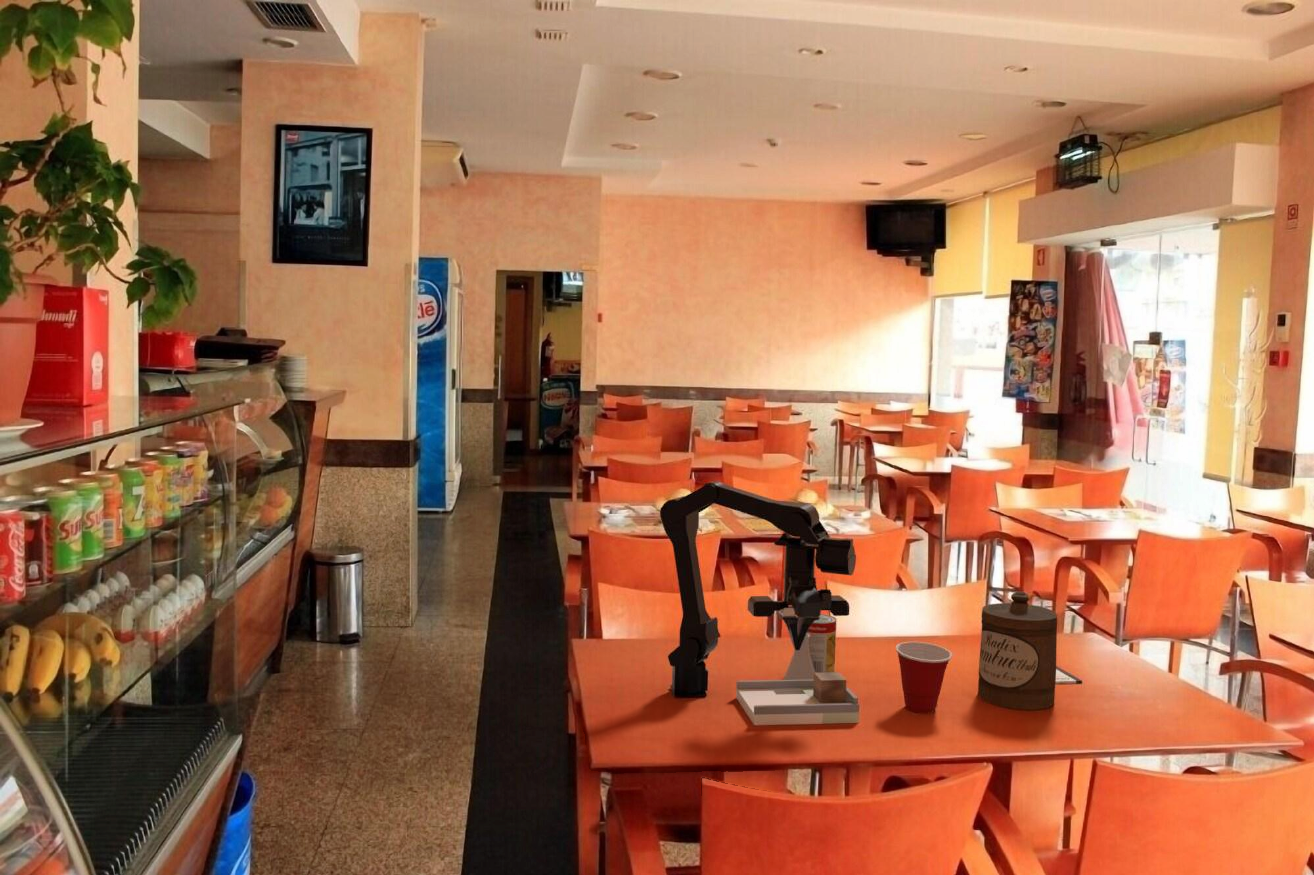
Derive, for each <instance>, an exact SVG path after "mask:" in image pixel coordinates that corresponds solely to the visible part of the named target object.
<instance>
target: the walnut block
mask: <svg viewBox="0 0 1314 875" xmlns="http://www.w3.org/2000/svg"><path fill="white" fill-rule="evenodd" d="M846 686H847V679H846V678H845V676H843V675H842V674H841V673H840V672H838V671H837V672H836V671H835V672H827V673H814V687H813V696H814V697H815V698H816V699H817V700H818V701H819V702H820V703H846Z"/></svg>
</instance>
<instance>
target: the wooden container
mask: <svg viewBox="0 0 1314 875" xmlns="http://www.w3.org/2000/svg"><path fill="white" fill-rule="evenodd" d="M1010 598H1011V601H1012V602H1011V603H1010V602H1006V603H1005V602H1003V603H990V604H986V605H984V606H982V609H981V632H980V636H981V637H980V648H979V660H978V682H977V683H978V687H977V695H978V697H979V698H980V699H982V700H983V701H984V702H986V703H988V702H989V703H988V704H991V705H994V706H997V705H998V706H997V707H1002V708H1005V707H1006V709H1012V710H1022V711H1023V710H1025V711H1028V710H1029V711H1034V710H1035V711H1037V710H1043V709H1047V708H1051V707H1053V705H1055V699H1056V696H1055V695H1056V684H1055V682H1056V666H1057V643H1058V642H1057V641H1058V640H1057V639H1058V638H1057V637H1058V634H1057V633H1058V613H1057V612H1056V611H1054V610H1052V609H1050V608H1046V607H1043V606H1038V605H1035V604H1034V605H1033V604H1029V603H1028V602H1029V600H1030V595H1029V594H1028V593H1026V592H1024V591H1022V590H1021V591H1020V590H1019V591H1015V592H1014V593H1012V594H1011V595H1010Z"/></svg>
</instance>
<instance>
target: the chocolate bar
mask: <svg viewBox="0 0 1314 875" xmlns="http://www.w3.org/2000/svg"><path fill="white" fill-rule="evenodd" d="M1063 684H1066V685H1068V684H1069V685H1071V684H1076V685H1077V684H1083V680H1082V679H1080V678H1079V677H1077V676H1075V675H1073V674H1072V673H1070V672H1068V671H1066V670H1065V669H1062V668H1061V667H1059V666H1057V665H1056V682H1055V685H1063Z"/></svg>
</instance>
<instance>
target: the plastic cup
mask: <svg viewBox="0 0 1314 875" xmlns="http://www.w3.org/2000/svg"><path fill="white" fill-rule="evenodd" d="M895 651H896V652H897V657H898V661H899V662H898V663H899V668H900V677H901V678H900V679H901V686H902V692H903V699H904V705H905V709H907V710H908V711H910V712H914V713H919V714H930V713H933V712H935V711H936V709H937V707H938V706H937V705H938V702H939V696H940V693H941V691H942V686H943V681H944V676H945V672H946V669H947V667H948V664H949V661H950V660H951V659H952V657H953V653H952V652H951V650H949V649H947V648H946V647H943V646H940V645H938V644H935V643H929V642H923V641H905V642H901V643H898V644H896V646H895Z"/></svg>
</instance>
